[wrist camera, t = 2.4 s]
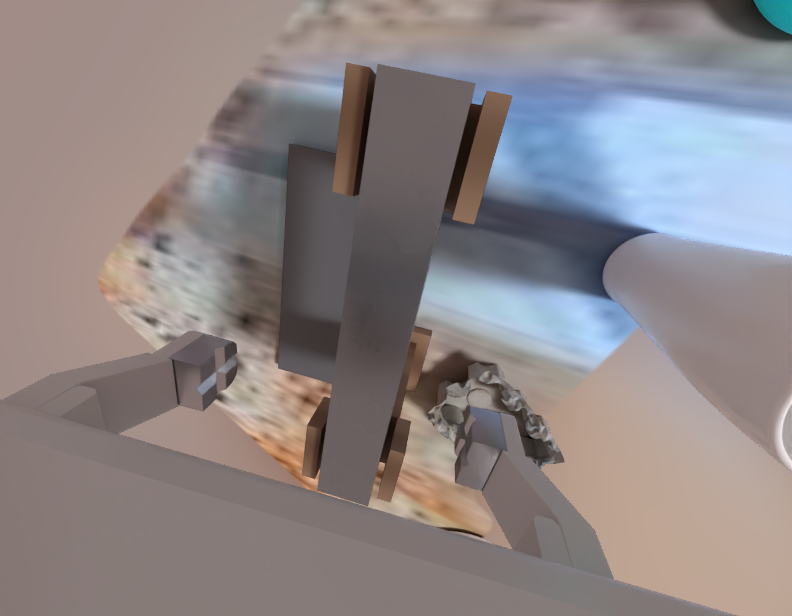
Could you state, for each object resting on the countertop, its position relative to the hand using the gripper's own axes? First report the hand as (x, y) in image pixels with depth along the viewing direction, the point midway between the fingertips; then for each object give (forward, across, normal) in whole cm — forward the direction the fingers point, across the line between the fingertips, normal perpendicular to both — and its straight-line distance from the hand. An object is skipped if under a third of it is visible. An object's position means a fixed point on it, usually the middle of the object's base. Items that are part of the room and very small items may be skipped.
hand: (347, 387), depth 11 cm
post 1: (+16, 0, -8) cm, 18 cm away
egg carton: (+16, -11, +12) cm, 23 cm away
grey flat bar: (+16, +6, +4) cm, 18 cm away
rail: (+6, 0, 0) cm, 6 cm away
